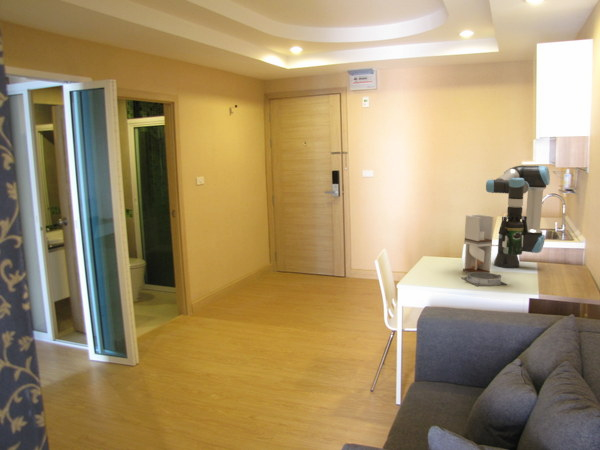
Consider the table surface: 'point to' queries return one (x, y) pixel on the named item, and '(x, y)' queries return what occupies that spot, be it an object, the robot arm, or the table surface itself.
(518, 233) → the coffee jar
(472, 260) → the toilet paper holder
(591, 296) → the table surface
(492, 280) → the duct collar
